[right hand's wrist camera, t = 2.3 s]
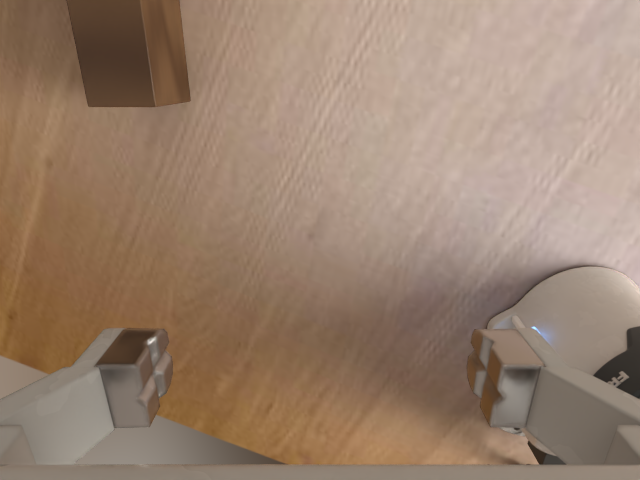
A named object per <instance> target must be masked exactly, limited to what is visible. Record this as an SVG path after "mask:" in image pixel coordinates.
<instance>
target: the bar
mask: <svg viewBox="0 0 640 480" xmlns="http://www.w3.org/2000/svg"><path fill="white" fill-rule="evenodd" d="M67 4H68V9H69V14H70V19H71V24H72V29H73V34H74V39H75V44H76V48H77V53H78V58H79V63H80V68H81V73H82V78H83V83H84V88H85V93H86V98H87V102H88V106H89V107H158V106H164V105H171V104H177V103H183V102H189V101H190V92H189V83H188V74H187V66H186V57H185V48H184V39H183V30H182V21H181V12H180V4H179V0H67Z"/></svg>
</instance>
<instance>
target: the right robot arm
mask: <svg viewBox="0 0 640 480" xmlns="http://www.w3.org/2000/svg"><path fill="white" fill-rule="evenodd" d="M168 344H169V338H168V334H167V331H166V330H165V329H148V328H107V329H104V330H103V331H102V332H101V333H100V334H99V335H98V337H97V338H96V339H95V340H94V341H93V342H92V343H91V345H90V346H89V347H88V348H87V349H86V350H85V351H84V353H83V354H82V355H81V356H80V357H79V358H78V359H77V360H76V362H75V363H74V364H73V365H72V366H71V367H64V368H62V369H60V370H58V371H56V372H54V373H52V374H50V375H48V376H46V377H44V378H42V379H40V380H38V381H36V382H34V383H32V384H30V385H28V386H26V387H24V388H22V389H20V390H18V391H16V392H14V393H12V394H10V395H8V396H6V397H4V398H2V399H0V480H640V289H639V288H638V286H637V285H636V284H635V283H634V282H633V281H632V280H631V279H630V278H629V277H627V276H626V275H624V274H623V273H621V272H618V271H616V270H613V269H610V268H605V267H596V266H589V267H579V268H574V269H570V270H566V271H563V272H560V273H558V274H555V275H553V276H551V277H549V278H547V279H546V280H544V281H542V282H541V283H539V284H538V285H536V286H535V287H534V288H533V289H531V290H530V291H529V292H528V293H527V294H526V295H525V296H524V297H523V298H522V299H521V300H520V301H519V302H518V303H517V304H516V305H515V306H513V307H512V308H510V309H508V310H506V311H504V312H502V313H500V314H498V315H496V316H495V317H493V318H492V319H491V320H490V321H489V322H488V325H487V329H475V330H474V332H473V334H472V338H471V344H472V346H473V348H474V349H475V350H474V351H473V352H472V353H471V354H470V355H469V356H468V363H467V375H468V380H469V384H470V387H471V389H472V391H473V393H474V394H476V395H477V396H478V397H480V398H481V403H480V407H481V409H482V411H483V413H484V415H485V417H486V419H487V421H488V423H489V425H490V427H498V428H500V429H502V430H504V431H506V432H509V433H512V434H516V435H520V436H526V437H527V439H528V440H529V441H528V445H529V447H530V449H531V450H532V452H533V454H534V456H535V457H536V459H537V461H538V463H539V464H540V465H531V464H526V465H73V464H74V463H76V462H77V461H78V460H79V459H80V458H82V457H83V456H84V455H85V454H86V453H87V452H89V451H90V450H91V449H92V448H93V447H95V446H96V445H97V444H98V443H100V442H101V441H102V440H103V439H104V438H105V437H107V436H108V435H109V434H110V433H111V432H113V431H114V428H134V427H150V425H151V423H152V421H153V419H154V417H155V415H156V413H157V411H158V409H159V407H160V403H159V398H160V397H162V396H163V395H164V394H166V393H167V391H168V389H169V387H170V384H171V380H172V375H173V362H172V356H171V355H170V354H169V353H168V352H167V351H166V350H165V349H166V348H167V346H168Z"/></svg>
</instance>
